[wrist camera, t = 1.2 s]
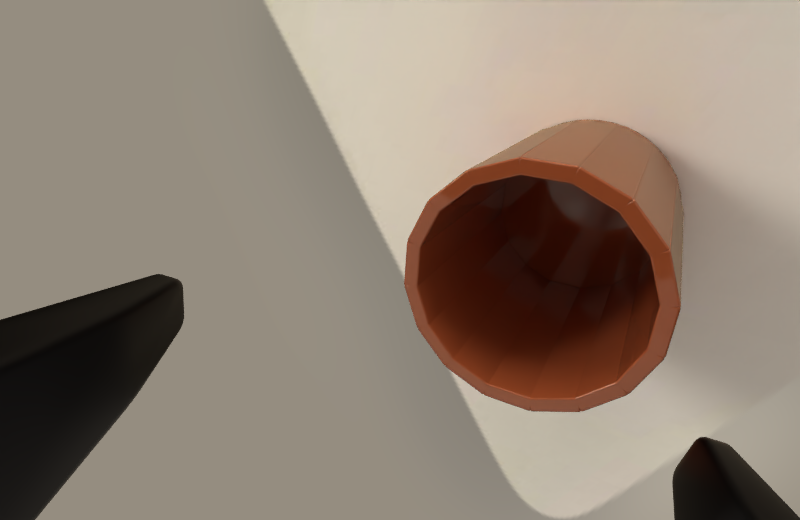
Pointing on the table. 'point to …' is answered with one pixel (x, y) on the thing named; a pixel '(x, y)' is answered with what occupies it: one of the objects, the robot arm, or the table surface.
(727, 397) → the table surface
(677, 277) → the cup
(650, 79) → the table surface
